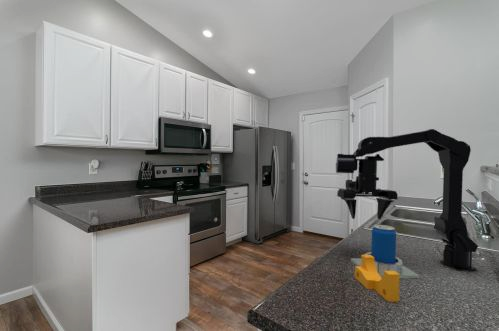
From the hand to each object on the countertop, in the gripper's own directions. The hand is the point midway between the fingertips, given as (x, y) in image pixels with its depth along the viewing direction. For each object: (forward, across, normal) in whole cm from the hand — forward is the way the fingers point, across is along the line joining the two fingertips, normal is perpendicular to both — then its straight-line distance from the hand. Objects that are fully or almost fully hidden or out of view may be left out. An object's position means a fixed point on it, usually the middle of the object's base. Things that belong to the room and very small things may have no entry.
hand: (366, 218), depth 83 cm
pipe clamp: (+13, +9, +21) cm, 27 cm away
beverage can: (+12, 0, +10) cm, 16 cm away
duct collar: (+13, 0, +10) cm, 16 cm away
